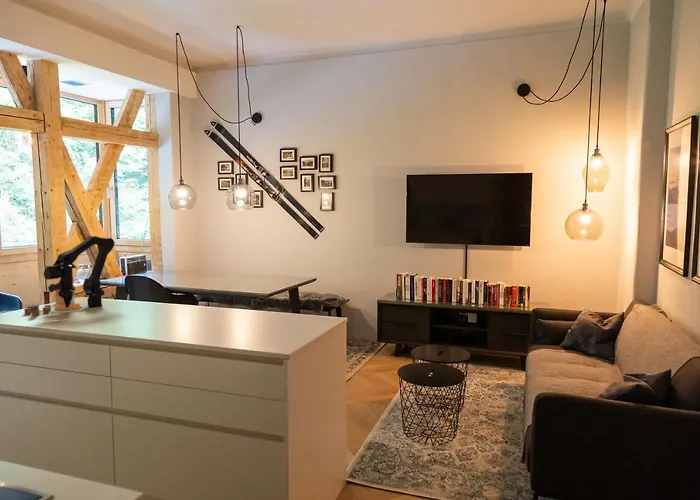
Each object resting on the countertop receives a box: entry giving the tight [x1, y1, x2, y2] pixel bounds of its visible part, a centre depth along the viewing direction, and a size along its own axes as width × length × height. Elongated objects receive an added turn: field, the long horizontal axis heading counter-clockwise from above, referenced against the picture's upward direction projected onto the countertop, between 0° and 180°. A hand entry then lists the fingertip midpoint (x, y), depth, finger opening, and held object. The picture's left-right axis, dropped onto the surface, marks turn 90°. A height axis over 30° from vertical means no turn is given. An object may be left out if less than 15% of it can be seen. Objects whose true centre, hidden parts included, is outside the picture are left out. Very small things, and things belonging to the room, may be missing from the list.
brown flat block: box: [21, 304, 53, 317], centre depth 257 cm, size 12×14×4 cm
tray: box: [50, 305, 85, 314], centre depth 264 cm, size 14×10×1 cm
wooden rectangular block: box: [54, 302, 81, 311], centre depth 264 cm, size 11×4×4 cm, turn 114°
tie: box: [30, 304, 40, 310], centre depth 249 cm, size 3×7×2 cm, turn 24°
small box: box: [55, 289, 76, 305], centre depth 285 cm, size 8×6×10 cm
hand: (67, 306), depth 264 cm, fingers open, 5 cm apart
